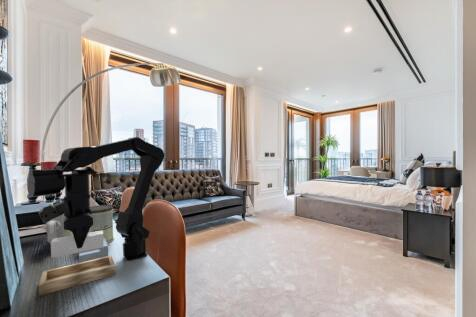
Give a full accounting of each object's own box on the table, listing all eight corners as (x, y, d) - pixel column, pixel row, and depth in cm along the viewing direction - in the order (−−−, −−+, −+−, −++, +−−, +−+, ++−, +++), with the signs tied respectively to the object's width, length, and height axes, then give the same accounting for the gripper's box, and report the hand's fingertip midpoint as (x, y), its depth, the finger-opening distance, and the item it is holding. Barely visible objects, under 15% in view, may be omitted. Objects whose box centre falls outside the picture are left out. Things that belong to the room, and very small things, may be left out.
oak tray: (111, 263, 74) (111, 255, 74) (115, 274, 67) (115, 265, 67) (43, 280, 64) (42, 271, 64) (39, 296, 57) (38, 285, 57)
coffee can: (78, 247, 89) (77, 211, 89) (93, 238, 99) (92, 205, 99) (106, 245, 89) (105, 209, 89) (118, 236, 100) (117, 204, 100)
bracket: (105, 249, 86) (104, 237, 86) (108, 258, 77) (107, 245, 77) (79, 255, 81) (78, 242, 81) (79, 266, 73) (79, 251, 73)
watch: (62, 245, 91) (61, 217, 91) (62, 251, 85) (61, 222, 85) (43, 249, 88) (42, 220, 88) (42, 256, 81) (41, 225, 81)
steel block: (103, 243, 70) (102, 230, 70) (103, 247, 67) (103, 233, 67) (53, 252, 64) (53, 238, 64) (51, 257, 61) (50, 242, 61)
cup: (69, 244, 92) (68, 214, 92) (44, 247, 90) (43, 216, 89) (75, 237, 100) (74, 210, 100) (52, 240, 97) (51, 212, 97)
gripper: (44, 190, 68) (46, 242, 69) (35, 199, 53) (38, 266, 53) (88, 187, 75) (90, 234, 75) (92, 193, 60) (94, 253, 60)
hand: (79, 245), depth 66 cm, fingers closed on steel block, 4 cm apart
